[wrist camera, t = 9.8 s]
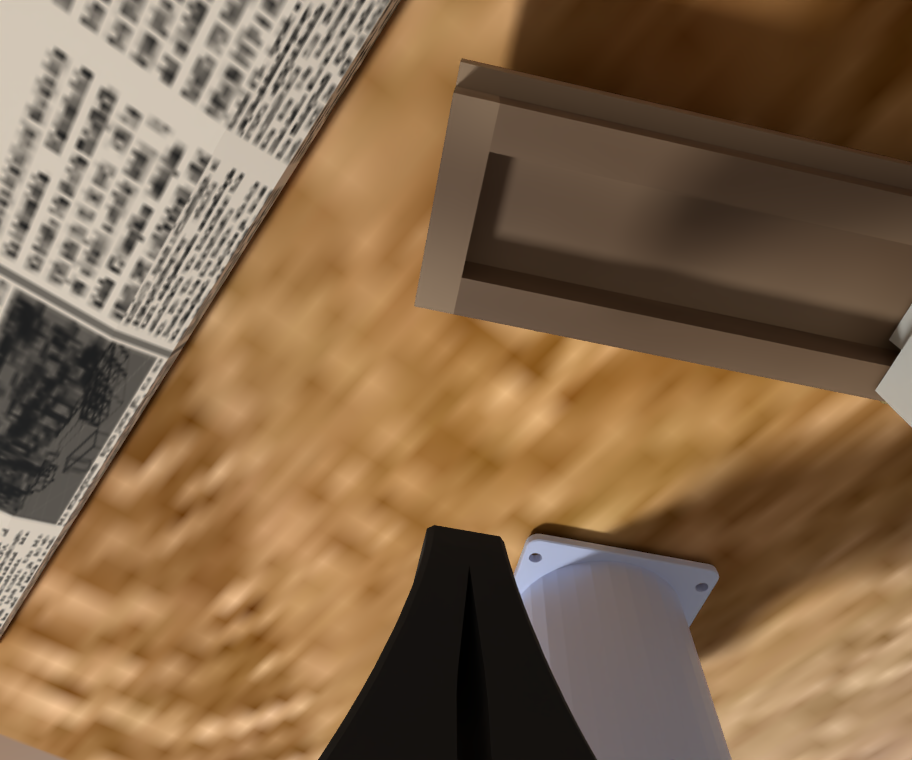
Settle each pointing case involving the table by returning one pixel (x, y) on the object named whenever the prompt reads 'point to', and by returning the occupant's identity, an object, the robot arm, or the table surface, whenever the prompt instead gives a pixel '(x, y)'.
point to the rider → (900, 371)
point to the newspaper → (133, 212)
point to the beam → (668, 232)
